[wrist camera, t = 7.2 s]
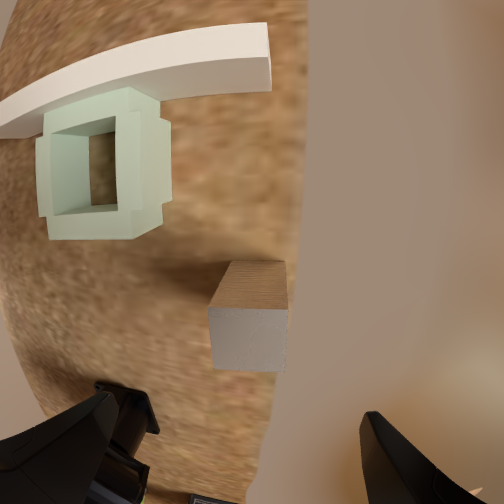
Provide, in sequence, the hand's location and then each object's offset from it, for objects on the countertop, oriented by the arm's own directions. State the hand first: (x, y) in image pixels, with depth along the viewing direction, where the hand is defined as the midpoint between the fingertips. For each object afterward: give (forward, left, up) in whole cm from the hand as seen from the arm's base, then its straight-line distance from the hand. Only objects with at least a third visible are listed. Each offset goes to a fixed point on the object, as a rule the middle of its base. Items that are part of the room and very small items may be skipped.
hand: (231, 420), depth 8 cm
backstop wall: (+14, +10, -12) cm, 21 cm away
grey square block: (0, 0, -12) cm, 12 cm away
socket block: (+9, +10, -12) cm, 18 cm away
